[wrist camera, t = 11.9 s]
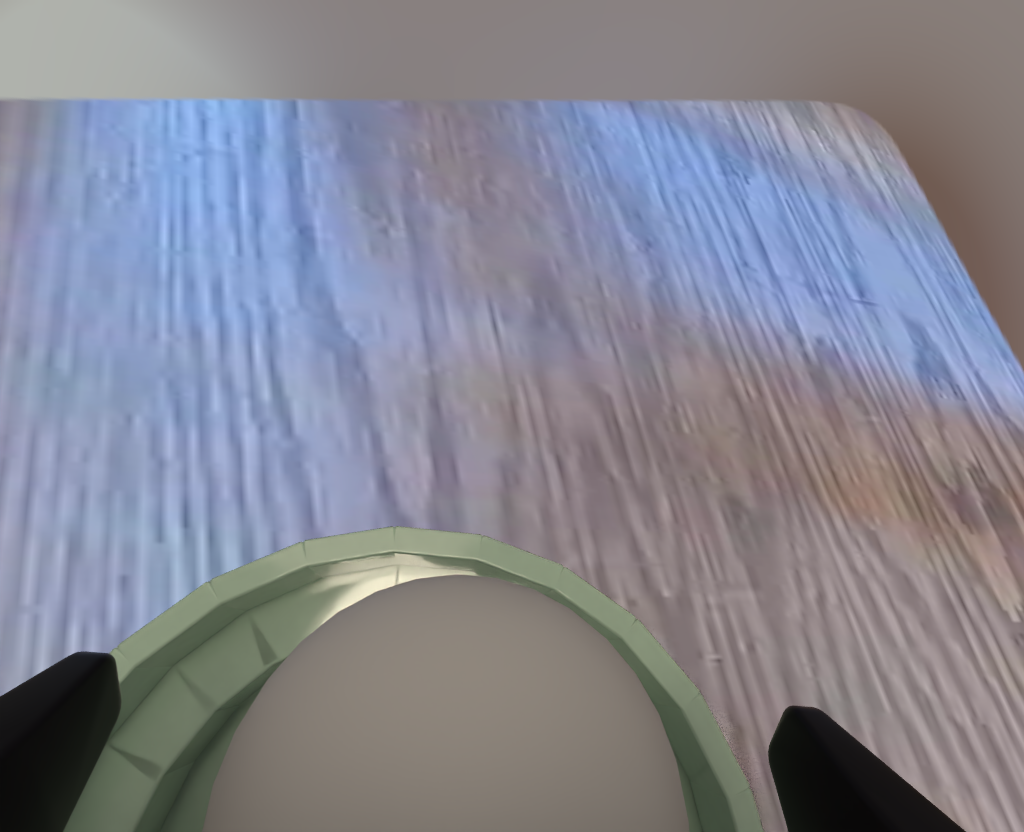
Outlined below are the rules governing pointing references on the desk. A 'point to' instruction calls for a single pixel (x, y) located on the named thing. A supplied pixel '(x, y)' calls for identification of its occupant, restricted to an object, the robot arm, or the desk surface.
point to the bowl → (300, 611)
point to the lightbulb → (451, 724)
